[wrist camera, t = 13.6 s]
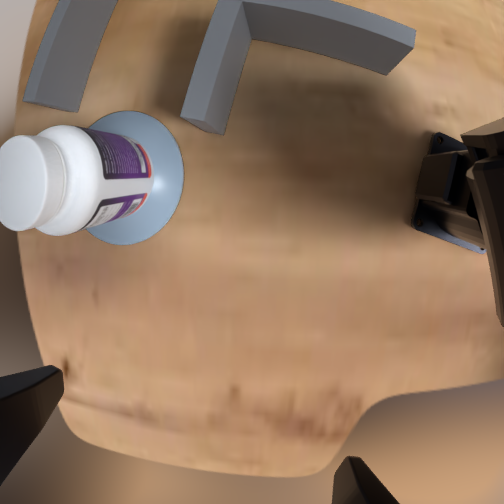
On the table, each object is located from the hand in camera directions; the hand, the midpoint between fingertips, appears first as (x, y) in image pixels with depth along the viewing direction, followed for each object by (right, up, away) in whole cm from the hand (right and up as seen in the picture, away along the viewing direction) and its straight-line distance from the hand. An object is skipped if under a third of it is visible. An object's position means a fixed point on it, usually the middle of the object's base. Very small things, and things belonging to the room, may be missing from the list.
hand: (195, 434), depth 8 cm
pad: (-7, +10, +12) cm, 17 cm away
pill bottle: (-7, +10, +12) cm, 17 cm away
